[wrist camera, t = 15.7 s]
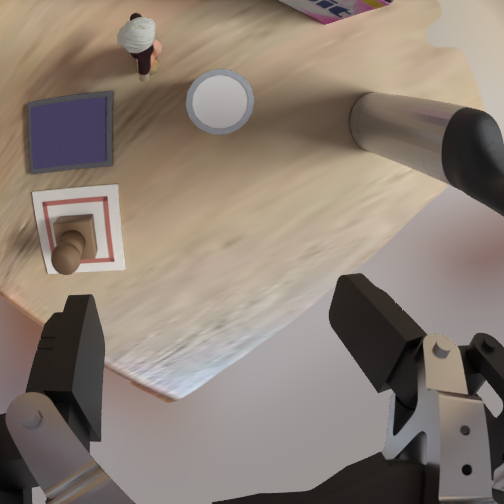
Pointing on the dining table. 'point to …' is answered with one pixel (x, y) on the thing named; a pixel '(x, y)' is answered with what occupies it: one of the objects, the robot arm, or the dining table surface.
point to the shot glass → (220, 101)
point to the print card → (80, 203)
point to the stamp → (73, 242)
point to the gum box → (335, 8)
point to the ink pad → (71, 132)
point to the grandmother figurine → (141, 44)
